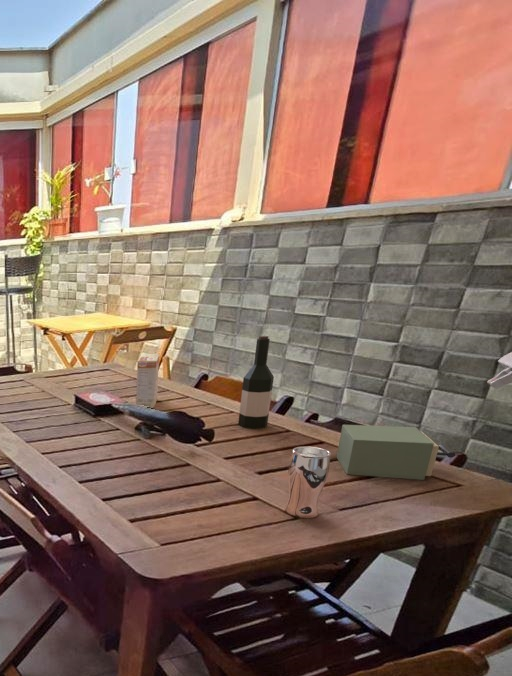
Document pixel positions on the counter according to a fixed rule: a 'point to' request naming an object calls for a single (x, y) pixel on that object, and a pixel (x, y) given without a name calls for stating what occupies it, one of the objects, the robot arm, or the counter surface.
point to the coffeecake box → (147, 379)
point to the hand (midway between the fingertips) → (491, 385)
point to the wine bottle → (257, 389)
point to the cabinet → (384, 451)
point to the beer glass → (306, 480)
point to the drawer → (435, 452)
